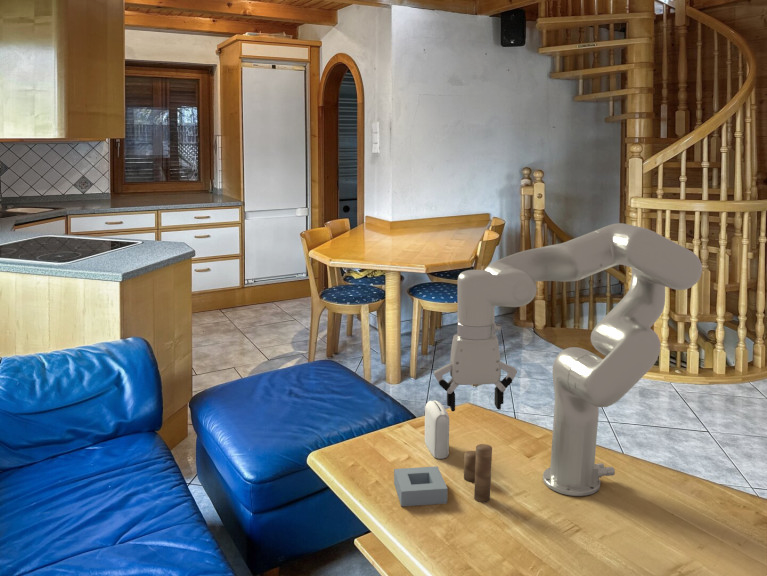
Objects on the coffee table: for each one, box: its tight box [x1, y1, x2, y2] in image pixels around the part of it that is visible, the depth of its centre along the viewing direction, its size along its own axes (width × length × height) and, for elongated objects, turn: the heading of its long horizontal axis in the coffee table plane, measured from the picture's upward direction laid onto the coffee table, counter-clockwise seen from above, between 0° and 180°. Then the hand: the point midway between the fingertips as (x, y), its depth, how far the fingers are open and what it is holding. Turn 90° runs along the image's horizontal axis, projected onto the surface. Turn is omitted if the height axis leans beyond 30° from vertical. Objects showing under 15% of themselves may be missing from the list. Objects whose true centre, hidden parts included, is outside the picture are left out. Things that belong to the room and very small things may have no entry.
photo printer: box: [424, 400, 450, 459], centre depth 170 cm, size 10×4×12 cm, turn 12°
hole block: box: [393, 465, 448, 507], centre depth 150 cm, size 10×10×4 cm
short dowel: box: [463, 450, 476, 483], centre depth 157 cm, size 3×3×6 cm
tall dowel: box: [473, 443, 493, 503], centre depth 147 cm, size 3×3×12 cm
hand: (475, 408), depth 144 cm, fingers open, 9 cm apart
